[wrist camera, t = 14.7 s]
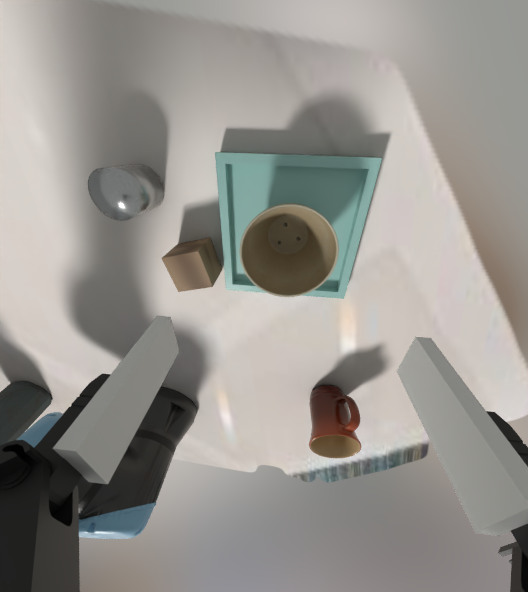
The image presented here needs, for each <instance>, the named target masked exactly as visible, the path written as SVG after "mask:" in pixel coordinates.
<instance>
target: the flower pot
mask: <svg viewBox="0 0 528 592" xmlns="http://www.w3.org/2000/svg"><path fill="white" fill-rule="evenodd" d="M284 224H286V226H284ZM297 237H300V238H297ZM280 242H281V244H279V243H280ZM239 253H240V261H241V265H242V267H243V270H244V272H245V274H246V275H247V277H248V278H249V279H250V281H251V282H252V283H253V284H254V285H256V286H257V287H258V288H259V289H261V290H263V291H265V292H267V293H269V294H272V295H275V296H281V297H295V296H300V295H304V294H307V293H309V292H311V291H313V290H315V289H317V288H318V287H320V286H321V285H322V284H323V283H324V282H325V281H326V280H327V279H328V278H329V277H330V275H331V274H332V272H333V270H334V268H335V266H336V263H337V260H338V255H339V244H338V238H337V235H336V233H335V230H334V228H333V227H332V225H331V224H330V222H329V221H328V220H327V219H326V218H325V217H324V216H323V215H322V214H320V213H319V212H317V211H316V210H314V209H312V208H310V207H308V206H305V205H301V204H296V203H284V204H279V205H275V206H272V207H270V208H268V209H266V210H264V211H263V212H261V213H260V214H258V215H257V216H256V217H255V218H254V219H253V220H252V221H251V222H250V223H249V225H248V226H247V228H246V229H245V231H244V233H243V236H242V239H241V243H240V250H239Z"/></svg>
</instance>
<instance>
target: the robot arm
mask: <svg viewBox="0 0 528 592" xmlns="http://www.w3.org/2000/svg"><path fill="white" fill-rule="evenodd" d="M178 353H179V348H178V344H177V340H176V336H175V332H174V329H173V325H172V321H171V317H164V316H157V317H156V318H155V319H154V321H153V322H152V323H151V324H150V326H149V327H148V328H147V330H146V331H145V332H144V333H143V335H142V336H141V337H140V338H139V340H138V341H137V342H136V343H135V345H134V346H133V347H132V349H131V350H130V351H129V352H128V354H127V355H126V356H125V357H124V359H123V360H122V361H121V362H120V364H119V365H118V366H117V368H116V369H115V370H114V371H113V373H112V374H111V375H109V374H101V375H100V376H99V377H97V378H96V379H95V380H93V381H92V382H91V383H89V384H88V386H87V387H86V388H85V389H84V390H83V391H82V393H81V394H80V396H79V397H77V399H76V400H75V401H74V402H73V403H72V406H71V407H69V408H68V409H67V410H66V411H65V413H64V414H62V413H59V412H54V413H50V414H47V415H45V416H44V417H42V418H41V419H40V420H39V421H37V422H36V423H35V424H34V425H33V426H31V427H30V428H29V429H28V430H27V431H26V432H24V433H23V434H22V435H21V436H20V437H19V438H18V439H17V440H14V441H11V442H8V443H5V444H3V445H1V446H0V592H80V590H79V537H87V538H104V539H126V538H133V537H135V536H137V535H139V534H140V533H141V532H142V531H143V529H144V528H145V526H146V524H147V522H148V519H149V517H150V515H151V512H152V510H153V508H154V506H155V505H156V500H157V498H158V495H159V492H160V489H161V487H162V484H163V482H164V479H165V476H166V473H167V471H168V468H169V465H170V463H171V460H172V457H173V455H174V452H175V449H176V447H177V445H178V443H179V442H180V441H181V439H182V438H183V436H184V435H185V434H186V432H187V431H188V429H189V428H190V427H191V425H192V424H193V422H194V419H195V416H196V414H197V409H196V406H195V405H194V403H193V402H192V401H191V400H190V399H188V398H187V397H186V396H184V395H182V394H180V393H178V392H176V391H173V390H170V389H166V388H160V387H161V385H162V383H163V381H164V379H165V378H166V376H167V374H168V372H169V370H170V368H171V366H172V365H173V363H174V361H175V359H176V357H177V355H178ZM397 373H398V375H399V377H400V379H401V381H402V383H403V385H404V387H405V389H406V391H407V394H408V396H409V398H410V400H411V402H412V404H413V406H414V408H415V410H416V412H417V414H418V416H419V418H420V420H421V422H422V424H423V426H424V428H425V431H426V433H427V435H428V437H429V439H430V441H431V443H432V445H433V447H434V449H435V451H436V453H437V455H438V457H439V459H440V461H441V463H442V465H443V467H444V469H445V472H446V474H447V476H448V478H449V480H450V482H451V484H452V486H453V488H454V490H455V492H456V494H457V496H458V498H459V500H460V502H461V504H462V506H463V509H464V511H465V513H466V515H467V517H468V519H469V521H470V523H471V525H472V527H473V529H474V531H475V533H481V534H489V535H496V536H500V535H503V534H505V533H507V532H510V531H511V532H512V534H513V536H514V537H515V539H516V541H517V542H514V543H511V544H508V545H506V546H503V547H501V548H500V550H499V552H498V553H499V554H500V555H501V556H506V555H509V554H512V559H511V560H510V561H509V562H510V563H511V564H512V570H511V589H510V592H528V447H527V446H526V445H525V444H523V441H522V440H521V438H520V437H519V436H518V435H517V433H516V432H515V431H514V430H513V428H512V427H511V426H510V425H509V424H508V423H507V422H505V421H504V420H503V419H502V418H501V417H500V416H498V415H497V414H496V413H495V412H488V411H485V409H484V408H483V407H482V405H481V404H480V403H479V401H478V400H477V399H476V397H475V396H474V395H473V393H472V392H471V391H470V389H469V388H468V387H467V386H466V384H465V383H464V382H463V380H462V379H461V378H460V376H459V375H458V374H457V372H456V371H455V370H454V368H453V367H452V366H451V364H450V363H449V362H448V360H447V359H446V358H445V356H444V355H443V354H442V352H441V351H440V350H439V348H438V347H437V346H436V344H435V343H434V342H433V340H432V339H431V338H423V337H415V339H414V341H413V342H412V344H411V346H410V348H409V350H408V352H407V353H406V355H405V357H404V359H403V361H402V363H401V364H400V366H399V368H398V370H397Z"/></svg>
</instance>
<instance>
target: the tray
mask: <svg viewBox="0 0 528 592" xmlns="http://www.w3.org/2000/svg"><path fill="white" fill-rule="evenodd" d="M215 156H216V169H217V181H218V194H219V207H220V219H221V232H222V244H223V257H224V269H225V282H226V290H236V291H249V292H262V293H267V292H265V291H263V290H261V289H259V288H258V287H257V286H256V285H254V284H253V283H252V282H251V281H250V279H249V278H248V277H247V275H246V274H245V272H244V270H243V267H242V265H241V261H240V253H239V250H240V243H241V239H242V236H243V233H244V231H245V229H246V228H247V226H248V225H249V223H250V222H251V221H252V220H253V219H254V218H255V217H256V216H257V215H258V214H260V213H261V212H263V211H264V210H266V209H268V208H270V207H272V206H275V205H279V204H284V203H296V204H301V205H305V206H308V207H310V208H312V209H314V210H316V211H317V212H319V213H320V214H322V215H323V216H324V217H325V218H326V219H327V220H328V221H329V222H330V224H331V225H332V227H333V228H334V230H335V233H336V235H337V238H338V244H339V255H338V260H337V263H336V266H335V268H334V270H333V272H332V274H331V275H330V277H329V278H328V279H327V280H326V281H325V282H324V283H323V284H322V285H321V286H320V287H318V288H317V289H315V290H313V291H311V292H309V293H307V294H304V295H303V296H316V297H329V298H343V299H344V296H345V293H346V289H347V285H348V282H349V278H350V274H351V271H352V267H353V263H354V260H355V256H356V252H357V249H358V245H359V241H360V238H361V234H362V230H363V227H364V223H365V219H366V216H367V212H368V208H369V205H370V201H371V197H372V194H373V190H374V186H375V182H376V179H377V175H378V171H379V168H380V164H381V160H382V158H377V157H351V156H321V155H292V154H262V153H232V152H215ZM284 226H286V224H284ZM297 238H300V237H297ZM279 244H281V242H280V243H279Z"/></svg>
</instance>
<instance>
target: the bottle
mask: <svg viewBox="0 0 528 592" xmlns="http://www.w3.org/2000/svg"><path fill="white" fill-rule="evenodd" d="M50 404H51V395H50V394H49V393H48V392H47V391H45V390H44V389H43V388H41V387H39V386H37V385H35V384H32V383H30V382H26V381H21V382H14V383H11V384H10V385H8V386H7V387H6V388H5V389H4V390H2V391H1V392H0V446H1V445H3V444H5V443H8V442H11V441H14V440H17V439H18V438H19V437H20V436H21V435H22V434H23V433H24V432H25V431H26V430H27V429H28V427H29V426H30V425H31V424H32V423H33V422H34V421H35V420H36V419H37V418H38V417H39V416H40V415H41V414H42V413H43V411H44V410H45V409H46V408H47V407H48V406H49V405H50Z"/></svg>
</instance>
